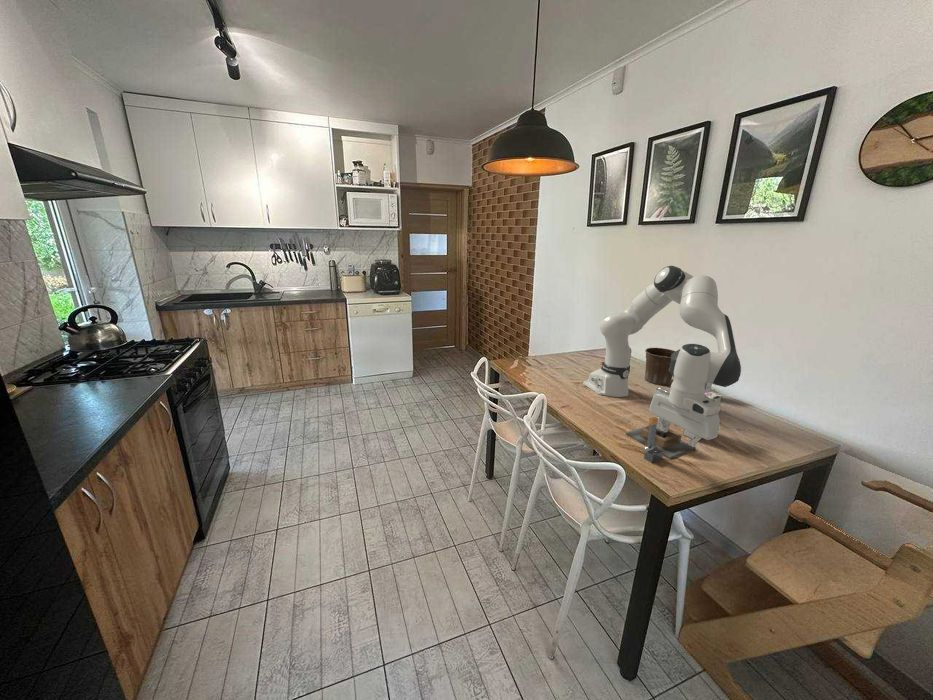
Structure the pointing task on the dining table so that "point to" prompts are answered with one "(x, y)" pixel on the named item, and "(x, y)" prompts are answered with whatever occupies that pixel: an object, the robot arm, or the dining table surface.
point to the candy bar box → (712, 396)
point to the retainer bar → (652, 431)
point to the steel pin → (658, 431)
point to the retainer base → (652, 454)
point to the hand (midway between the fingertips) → (677, 438)
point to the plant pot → (658, 365)
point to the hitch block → (663, 442)
